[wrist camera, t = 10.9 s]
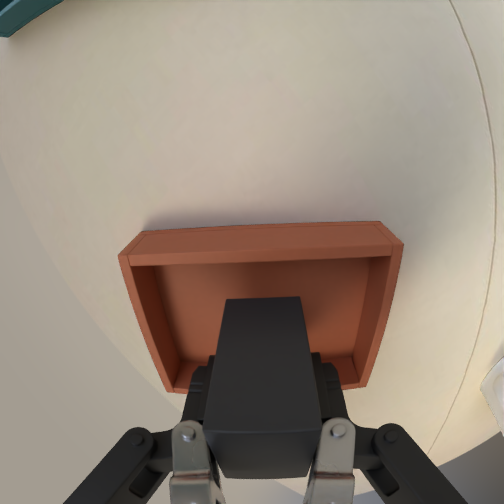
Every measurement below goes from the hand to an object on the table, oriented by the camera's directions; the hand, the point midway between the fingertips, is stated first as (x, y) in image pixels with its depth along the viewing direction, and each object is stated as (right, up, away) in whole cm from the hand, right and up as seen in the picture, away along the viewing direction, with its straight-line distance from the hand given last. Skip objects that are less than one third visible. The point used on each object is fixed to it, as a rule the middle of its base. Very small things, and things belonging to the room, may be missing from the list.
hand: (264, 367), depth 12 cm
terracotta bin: (0, +2, +5) cm, 5 cm away
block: (0, +1, +2) cm, 2 cm away
